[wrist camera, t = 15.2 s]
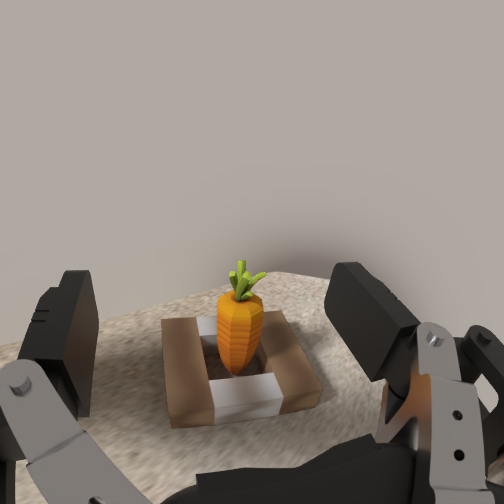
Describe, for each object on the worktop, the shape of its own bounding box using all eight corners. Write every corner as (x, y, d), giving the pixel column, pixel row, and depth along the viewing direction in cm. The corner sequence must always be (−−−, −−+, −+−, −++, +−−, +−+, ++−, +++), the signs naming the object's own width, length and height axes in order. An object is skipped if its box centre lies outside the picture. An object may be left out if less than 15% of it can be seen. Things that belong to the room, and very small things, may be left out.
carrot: (223, 354, 38) (229, 248, 32) (260, 366, 37) (277, 260, 31) (206, 381, 34) (207, 270, 28) (246, 395, 33) (261, 285, 26)
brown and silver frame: (171, 428, 28) (168, 411, 26) (163, 339, 40) (161, 319, 38) (315, 407, 32) (323, 388, 30) (277, 329, 44) (281, 310, 42)
